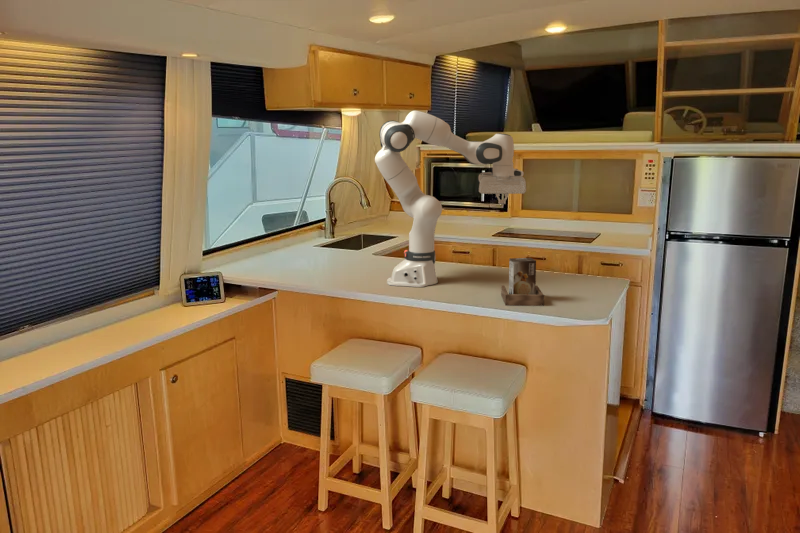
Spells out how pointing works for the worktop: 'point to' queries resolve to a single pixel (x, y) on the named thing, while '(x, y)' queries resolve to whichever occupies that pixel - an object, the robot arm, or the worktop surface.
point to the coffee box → (522, 276)
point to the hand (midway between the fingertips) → (501, 204)
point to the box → (523, 298)
